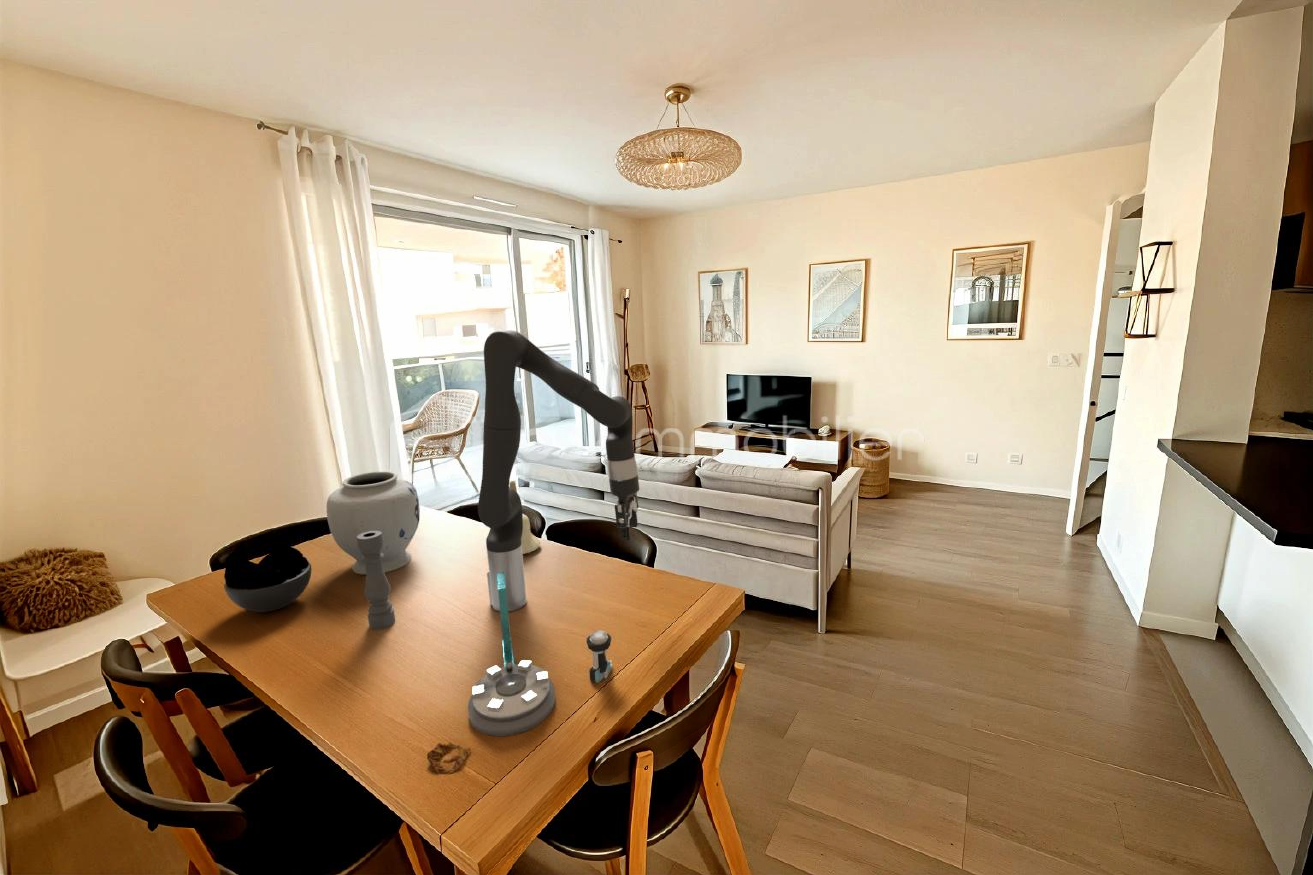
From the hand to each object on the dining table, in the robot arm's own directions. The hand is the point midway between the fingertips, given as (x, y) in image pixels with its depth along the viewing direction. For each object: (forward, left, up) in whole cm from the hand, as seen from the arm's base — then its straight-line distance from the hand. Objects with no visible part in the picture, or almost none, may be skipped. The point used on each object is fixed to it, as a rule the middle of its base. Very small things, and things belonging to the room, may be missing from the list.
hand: (630, 533), depth 142 cm
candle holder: (-54, -39, -22) cm, 70 cm away
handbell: (-57, +13, -22) cm, 63 cm away
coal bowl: (-90, -49, -22) cm, 104 cm away
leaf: (+1, -60, -22) cm, 64 cm away
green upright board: (-4, -41, -19) cm, 45 cm away
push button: (+10, -27, -22) cm, 36 cm away
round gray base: (0, -44, -22) cm, 49 cm away
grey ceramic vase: (-90, -17, -22) cm, 94 cm away
